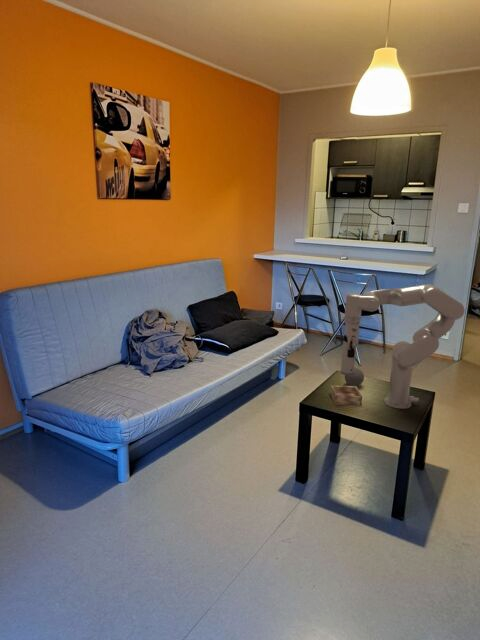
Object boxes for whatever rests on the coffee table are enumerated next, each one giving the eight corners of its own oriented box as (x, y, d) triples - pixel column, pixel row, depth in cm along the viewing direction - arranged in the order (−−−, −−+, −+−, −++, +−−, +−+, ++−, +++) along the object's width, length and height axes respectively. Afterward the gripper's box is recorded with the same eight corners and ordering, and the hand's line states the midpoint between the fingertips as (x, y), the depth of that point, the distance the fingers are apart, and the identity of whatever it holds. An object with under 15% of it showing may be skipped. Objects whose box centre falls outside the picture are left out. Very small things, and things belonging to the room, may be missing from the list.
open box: (355, 394, 231) (356, 386, 230) (361, 405, 218) (362, 396, 217) (330, 393, 231) (330, 385, 230) (334, 404, 218) (335, 396, 217)
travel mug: (354, 376, 218) (358, 336, 212) (340, 374, 219) (344, 335, 214) (354, 371, 223) (357, 333, 218) (340, 370, 225) (343, 332, 220)
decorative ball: (351, 380, 249) (353, 363, 246) (366, 386, 241) (368, 369, 239) (340, 385, 243) (341, 367, 240) (355, 391, 235) (357, 373, 233)
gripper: (364, 324, 206) (361, 361, 210) (356, 315, 222) (353, 349, 227) (348, 323, 206) (345, 360, 210) (341, 314, 223) (338, 349, 227)
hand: (349, 354), depth 219 cm, fingers closed on travel mug, 6 cm apart
